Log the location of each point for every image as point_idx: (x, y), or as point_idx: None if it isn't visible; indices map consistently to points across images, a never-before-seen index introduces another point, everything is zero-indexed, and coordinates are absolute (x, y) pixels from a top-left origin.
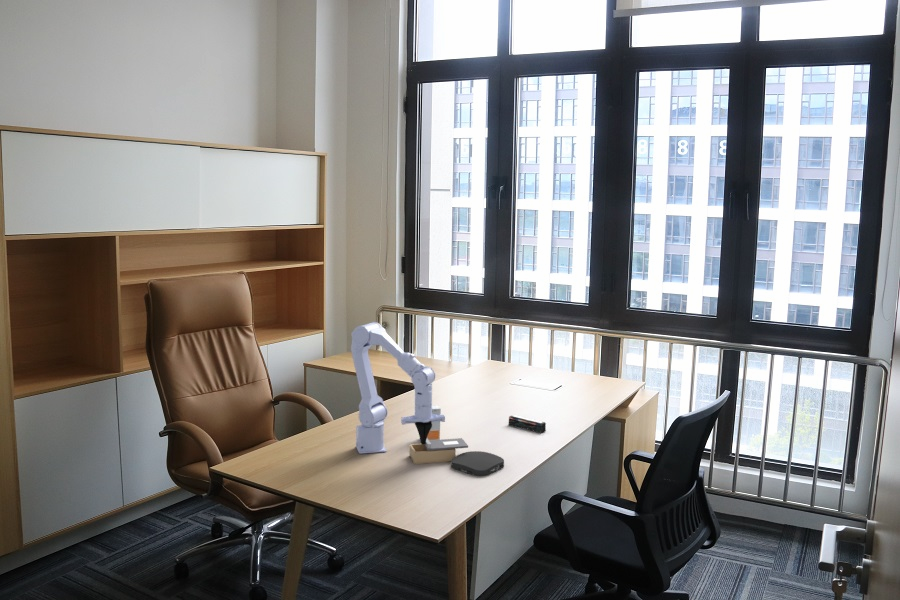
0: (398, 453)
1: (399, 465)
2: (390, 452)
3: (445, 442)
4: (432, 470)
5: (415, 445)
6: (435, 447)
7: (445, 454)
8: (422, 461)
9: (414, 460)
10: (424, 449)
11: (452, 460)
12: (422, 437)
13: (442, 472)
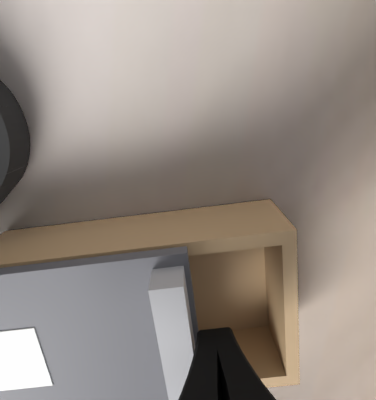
0: (329, 360)
1: (367, 186)
2: (368, 375)
3: (29, 374)
4: (164, 74)
5: (257, 373)
6: (114, 280)
7: (50, 243)
8: (219, 209)
9: (276, 207)
10: None
11: (1, 151)
12: (238, 371)
13: (94, 25)
